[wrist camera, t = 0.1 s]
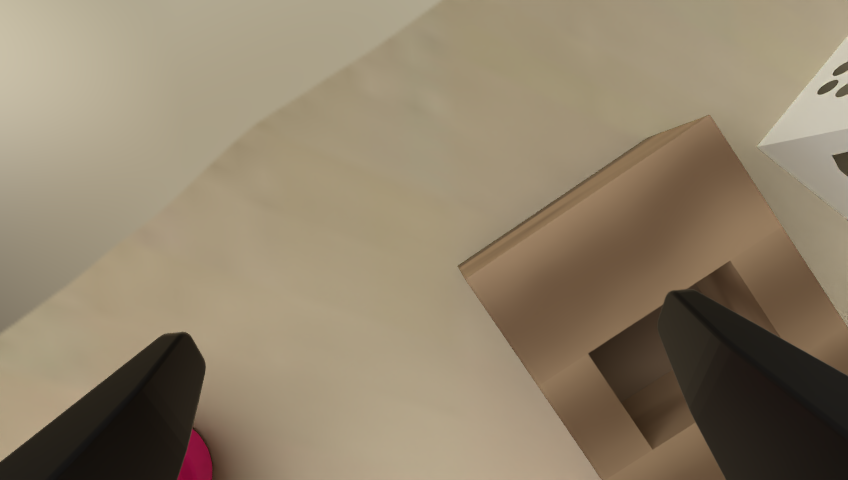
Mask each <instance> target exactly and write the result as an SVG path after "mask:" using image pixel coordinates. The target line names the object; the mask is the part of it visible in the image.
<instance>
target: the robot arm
mask: <svg viewBox="0 0 848 480" xmlns="http://www.w3.org/2000/svg"><path fill="white" fill-rule="evenodd" d="M657 329H658V333H659V336H660V339H661V341H662V344H663V346H664V349H665V351H666V354H667V356H668V359H669V361H670V364H671V366H672V369H673V371H674V374H675V376H676V379H677V382H678V384H679V387H680V389H681V392H682V394H683V397H684V399H685V401H686V404H687V406H688V408H689V410H690V412H691V414H692V416H693V418H694V420H695V422H696V424H697V426H698V428H699V430H700V432H701V434H702V436H703V438H704V439H705V441H706V443H707V445H708V447H709V449H710V451H711V453H712V455H713V457H714V458H715V460H716V462H717V464H718V466H719V468H720V470H721V472H722V474H723V476H724V477H725V479H726V480H848V375H846V374H844V373H843V372H841V371H839V370H837V369H835V368H834V367H832V366H830V365H828V364H826V363H825V362H823V361H821V360H819V359H818V358H816V357H814V356H812V355H810V354H809V353H807V352H805V351H803V350H801V349H800V348H798V347H796V346H794V345H793V344H791V343H789V342H787V341H785V340H784V339H782V338H780V337H778V336H777V335H775V334H773V333H771V332H769V331H768V330H766V329H764V328H762V327H760V326H759V325H757V324H755V323H753V322H752V321H750V320H748V319H746V318H744V317H743V316H741V315H739V314H737V313H735V312H734V311H732V310H730V309H728V308H727V307H725V306H723V305H721V304H719V303H718V302H716V301H714V300H712V299H711V298H709V297H707V296H705V295H703V294H702V293H700V292H698V291H696V290H693V289H682V290H672V291H670V292H668V293H667V295H666V297H665V300H664V303H663V306H662V309H661V312H660V315H659V318H658V322H657ZM205 369H206V366H205V361H204V358H203V356H202V354H201V353H200V351H199V349H198V348H197V346H196V344H195V342H194V341H193V339H192V337H191V336H190V335H189V334H188V333H186V332H177V333H167V334H164V335H162V336H160V337H159V338H157V339H156V340H155V341H154V342H152V343H151V344H150V345H149V346H147V347H146V348H145V349H143V350H142V351H141V352H140V353H138V354H137V355H136V356H135V357H133V358H132V359H131V360H129V361H128V362H127V363H126V364H124V365H123V366H122V367H121V368H119V369H118V370H117V371H115V372H114V373H113V374H112V375H110V376H109V377H108V378H107V379H105V380H104V381H103V382H101V383H100V384H99V385H98V386H96V387H95V388H94V389H93V390H91V391H90V392H89V393H87V394H86V395H85V396H84V397H82V398H81V399H80V400H79V401H77V402H76V403H75V404H73V405H72V406H71V407H70V408H68V409H67V410H66V411H65V412H63V413H62V414H61V415H59V416H58V417H57V418H56V419H54V420H53V421H52V422H51V423H49V424H48V425H47V426H45V427H44V428H43V429H42V430H40V431H39V432H38V433H36V434H35V435H34V436H33V437H31V438H30V439H29V440H28V441H26V442H25V443H24V444H22V445H21V446H20V447H19V448H17V449H16V450H15V451H14V452H12V453H11V454H10V455H8V456H7V457H6V458H5V459H3V460H2V461H1V462H0V480H177V479H178V476H179V473H180V470H181V467H182V464H183V461H184V458H185V455H186V452H187V448H188V444H189V441H190V437H191V432H192V428H193V424H194V419H195V415H196V411H197V406H198V402H199V397H200V393H201V389H202V384H203V380H204V376H205Z"/></svg>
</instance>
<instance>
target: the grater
mask: <svg viewBox="0 0 848 480" xmlns="http://www.w3.org/2000/svg"><path fill="white" fill-rule="evenodd" d="M846 62H848V36H847V37H846V38H845V40H844V41H843V42H842V43H841V44H840V46H839V47H838V48H837V49H836V51H835V52H834V53H833V54H832V55H831V57H830V58H829V59H828V60H827V61H826V63H825V64H824V65H823V66H822V68H821V69H820V70H819V71H818V72H817V74H816V75H815V76H814V77H813V79H812V80H811V81H810V82H809V83H808V85H807V86H806V87H805V88H804V90H803V91H802V92H801V93H800V94H799V96H798V97H797V98H796V99H795V101H794V102H793V103H792V104H791V105H790V107H789V108H788V109H787V110H786V111H785V113H784V114H783V115H782V116H781V118H780V119H779V120H778V121H777V122H776V124H775V125H774V126H773V127H772V129H771V130H770V131H769V132H768V133H767V135H766V136H765V137H764V138H763V140H762V141H761V142H760V143H759V144H758V146H757V148H758V149H759V150H761V151H762V152H763V153H764V154H766V155H767V156H768V157H769V158H771V159H772V160H773V161H774V162H776V163H777V164H778V165H779V166H781V167H782V168H783V169H784V170H786V171H787V172H788V173H789V174H791V175H792V176H793V177H794V178H796V179H797V180H798V181H799V182H801V183H802V184H803V185H804V186H805V187H807V188H808V189H809V190H810V191H812V192H813V193H814V194H815V195H817V196H818V197H819V198H820V199H822V200H823V201H824V202H825V203H827V204H828V205H829V206H830V207H832V208H833V209H834V210H835V211H837V212H838V213H839V214H840V215H842V216H843V217H844V218H845V219H847V220H848V176H846V175H845V174H844V173H843V172H841V171H840V170H839V168H838V166H837V164H836V162H835V160H834V158H833V156H832V155H836V154H840V153H845V152H848V94H847V95H845V96H842V97H836V96H835V94H836V92H837V91H838V90H839V89H840V88H841V87H843V86H845V85H846V84H848V71H846V72H844V73H843V74H840V75H838V76H833V75H832V74H833V72H834V70H835V69H837V68H838V67H839V66H840V65H842V64H844V63H846ZM832 80H838V81H839V82H838V84H837V86H836V87H834V88H833V89H832V90H830V91H829V92H827V93H825V94H822V95H818V94H817V92H818V90H819V89H820V88H821V87H822V86H823V85H825V84H826V83H828V82H830V81H832Z"/></svg>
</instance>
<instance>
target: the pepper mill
mask: <svg viewBox="0 0 848 480" xmlns="http://www.w3.org/2000/svg"><path fill="white" fill-rule="evenodd" d="M177 480H212V461H211V457H210V454H209V451H208V448H207V446H206V445H205V443H204V441H203V440H202V438H201V437H200V435H199V434H198V433H197V432H196V431H194V430H193V429H192V432H191V437H190V441H189V444H188V448H187V452H186V455H185V458H184V461H183V464H182V467H181V470H180V473H179V476H178V479H177Z"/></svg>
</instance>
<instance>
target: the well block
mask: <svg viewBox="0 0 848 480" xmlns="http://www.w3.org/2000/svg"><path fill="white" fill-rule="evenodd" d="M458 267H459V269H460V271H461V273H462V274H463V276H464V278H465V280H466V281H467V283H468V284H469V285H470V287H471V288H472V290H473V291H474V293H475V294H476V296H477V297H478V299H479V300H480V302H481V303H482V305H483V306H484V307H485V309H486V310H487V312H488V313H489V315H490V316H491V318H492V319H493V321H494V322H495V324H496V325H497V327H498V328H499V330H500V331H501V332H502V334H503V335H504V337H505V338H506V340H507V341H508V343H509V344H510V346H511V347H512V349H513V350H514V352H515V353H516V355H517V356H518V357H519V359H520V360H521V362H522V363H523V365H524V366H525V368H526V369H527V371H528V372H529V374H530V375H531V377H532V378H533V379H534V381H535V382H536V384H537V385H538V387H539V388H540V390H541V391H542V393H543V394H544V396H545V397H546V399H547V400H548V402H549V403H550V404H551V406H552V407H553V409H554V410H555V412H556V413H557V415H558V416H559V418H560V419H561V421H562V422H563V424H564V425H565V426H566V428H567V429H568V431H569V432H570V434H571V435H572V437H573V438H574V440H575V441H576V443H577V444H578V446H579V447H580V449H581V450H582V451H583V453H584V454H585V456H586V457H587V459H588V460H589V462H590V463H591V465H592V466H593V468H594V469H595V471H596V472H597V474H598V475H599V476H600V478H601V479H602V480H726V479H725V477H724V476H723V474H722V472H721V470H720V468H719V466H718V464H717V462H716V460H715V458H714V457H713V455H712V453H711V451H710V449H709V447H708V445H707V443H706V441H705V439H704V438H703V436H702V434H701V432H700V430H699V428H698V426H697V424H696V422H695V420H694V418H693V416H692V414H691V412H690V410H689V408H688V406H687V404H686V401H685V399H684V397H683V394H682V392H681V389H680V387H679V384H678V382H677V379H676V376H675V374H674V371H673V369H672V366H671V364H670V361H669V359H668V356H667V354H666V351H665V349H664V346H663V344H662V341H661V339H660V336H659V333H658V329H657V322H658V318H659V315H660V312H661V309H662V306H663V303H664V300H665V297H666V295H667V293H668V292H670V291H672V290H682V289H693V290H696V291H698V292H700V293H702V294H703V295H705V296H707V297H709V298H711V299H712V300H714V301H716V302H718V303H719V304H721V305H723V306H725V307H727V308H728V309H730V310H732V311H734V312H735V313H737V314H739V315H741V316H743V317H744V318H746V319H748V320H750V321H752V322H753V323H755V324H757V325H759V326H760V327H762V328H764V329H766V330H768V331H769V332H771V333H773V334H775V335H777V336H778V337H780V338H782V339H784V340H785V341H787V342H789V343H791V344H793V345H794V346H796V347H798V348H800V349H801V350H803V351H805V352H807V353H809V354H810V355H812V356H814V357H816V358H818V359H819V360H821V361H823V362H825V363H826V364H828V365H830V366H832V367H834V368H835V369H837V370H839V371H841V372H843V373H844V374H846V375H848V327H847V326H846V324H845V323H844V321H843V320H842V318H841V317H840V315H839V313H838V312H837V310H836V309H835V307H834V306H833V304H832V303H831V301H830V300H829V298H828V296H827V295H826V293H825V292H824V290H823V289H822V287H821V286H820V284H819V283H818V281H817V279H816V278H815V276H814V275H813V273H812V272H811V270H810V269H809V267H808V266H807V264H806V262H805V261H804V259H803V258H802V256H801V255H800V253H799V252H798V250H797V249H796V247H795V245H794V244H793V242H792V241H791V239H790V238H789V236H788V235H787V233H786V232H785V230H784V228H783V227H782V225H781V224H780V222H779V221H778V219H777V218H776V216H775V215H774V213H773V211H772V210H771V208H770V207H769V205H768V204H767V202H766V201H765V199H764V198H763V196H762V194H761V193H760V191H759V190H758V188H757V187H756V185H755V184H754V182H753V181H752V179H751V178H750V176H749V174H748V173H747V171H746V170H745V168H744V167H743V165H742V164H741V162H740V161H739V159H738V157H737V156H736V154H735V153H734V151H733V150H732V148H731V147H730V145H729V144H728V142H727V140H726V139H725V137H724V136H723V134H722V133H721V131H720V130H719V128H718V127H717V125H716V123H715V122H714V120H713V119H712V117H711V116H710V115H708V116H705V117H702V118H700V119H697V120H694V121H692V122H689V123H686V124H684V125H681V126H678V127H675V128H673V129H670V130H667V131H665V132H662V133H659V134H657V135H654V136H651V137H648V138H647V139H645V140H644V141H642V142H641V143H639V144H638V145H636V146H635V147H633V148H632V149H630V150H629V151H627V152H626V153H624V154H623V155H621V156H620V157H619V158H617V159H616V160H614V161H613V162H611V163H610V164H608V165H607V166H605V167H604V168H602V169H601V170H599V171H598V172H596V173H595V174H593V175H592V176H590V177H589V178H587V179H586V180H584V181H583V182H581V183H580V184H578V185H577V186H576V187H574V188H573V189H571V190H570V191H568V192H567V193H565V194H564V195H562V196H561V197H559V198H558V199H556V200H555V201H553V202H552V203H550V204H549V205H547V206H546V207H544V208H543V209H541V210H540V211H538V212H537V213H536V214H534V215H533V216H531V217H530V218H528V219H527V220H525V221H524V222H522V223H521V224H519V225H518V226H516V227H515V228H513V229H512V230H510V231H509V232H507V233H506V234H504V235H503V236H501V237H500V238H498V239H497V240H495V241H494V242H493V243H491V244H490V245H488V246H487V247H485V248H484V249H482V250H481V251H479V252H478V253H476V254H475V255H473V256H472V257H470V258H469V259H467V260H466V261H464V262H463V263H461V264H460V265H458Z"/></svg>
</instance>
